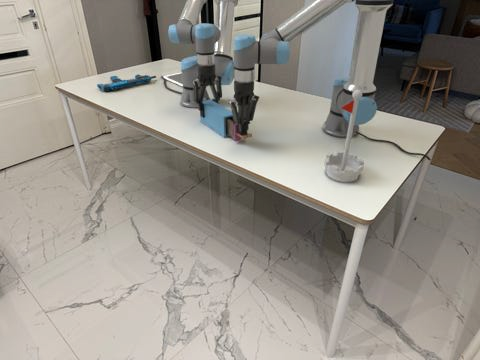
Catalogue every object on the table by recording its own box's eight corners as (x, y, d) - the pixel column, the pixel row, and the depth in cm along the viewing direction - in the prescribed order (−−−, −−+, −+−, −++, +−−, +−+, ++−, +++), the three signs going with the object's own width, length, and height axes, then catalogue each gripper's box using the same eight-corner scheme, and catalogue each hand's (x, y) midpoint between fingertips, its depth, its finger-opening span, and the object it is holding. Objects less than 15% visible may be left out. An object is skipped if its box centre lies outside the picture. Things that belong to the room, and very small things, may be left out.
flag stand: (346, 161, 127) (361, 81, 110) (369, 179, 117) (390, 94, 100) (316, 168, 123) (327, 86, 106) (337, 186, 113) (353, 99, 96)
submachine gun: (141, 69, 223) (160, 75, 207) (142, 74, 225) (161, 81, 209) (89, 79, 205) (105, 87, 188) (91, 85, 207) (107, 93, 190)
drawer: (252, 143, 137) (253, 126, 133) (242, 146, 135) (242, 129, 131) (220, 122, 155) (219, 107, 151) (210, 125, 153) (210, 109, 149)
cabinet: (236, 134, 147) (236, 113, 142) (224, 137, 144) (223, 117, 139) (211, 118, 162) (210, 99, 157) (200, 121, 159) (199, 102, 154)
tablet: (160, 77, 217) (160, 76, 217) (187, 71, 229) (187, 71, 228) (188, 89, 197) (188, 88, 197) (215, 82, 208) (215, 81, 208)
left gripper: (220, 58, 151) (222, 108, 164) (181, 65, 142) (186, 117, 155) (229, 62, 146) (230, 113, 158) (190, 69, 137) (194, 122, 149)
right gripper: (252, 74, 130) (251, 131, 143) (223, 80, 124) (225, 138, 137) (264, 79, 125) (261, 137, 138) (234, 86, 119) (235, 145, 132)
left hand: (209, 115), depth 156 cm, fingers closed on cabinet, 6 cm apart
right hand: (243, 138), depth 137 cm, fingers closed
